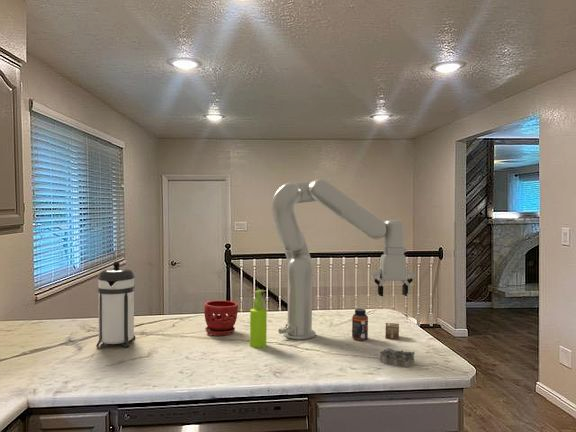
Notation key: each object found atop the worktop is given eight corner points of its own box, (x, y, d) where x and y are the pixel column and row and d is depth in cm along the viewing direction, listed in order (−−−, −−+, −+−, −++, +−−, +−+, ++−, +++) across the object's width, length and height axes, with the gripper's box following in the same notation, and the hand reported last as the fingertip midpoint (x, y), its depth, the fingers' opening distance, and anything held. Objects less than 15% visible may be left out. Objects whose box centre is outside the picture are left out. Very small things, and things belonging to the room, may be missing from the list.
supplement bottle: (367, 341, 173) (367, 311, 173) (351, 340, 175) (351, 310, 174) (367, 337, 179) (368, 308, 179) (352, 336, 180) (352, 307, 180)
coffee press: (148, 343, 169) (148, 261, 168) (106, 353, 157) (105, 265, 156) (125, 333, 181) (125, 257, 180) (84, 342, 169) (84, 260, 168)
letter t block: (398, 340, 176) (399, 326, 176) (385, 338, 177) (385, 325, 177) (398, 336, 181) (398, 323, 181) (385, 335, 182) (385, 322, 182)
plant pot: (228, 339, 175) (229, 307, 174) (198, 335, 179) (198, 304, 178) (243, 330, 187) (243, 300, 187) (214, 327, 191) (214, 298, 191)
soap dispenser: (270, 343, 170) (270, 289, 169) (261, 349, 163) (262, 292, 163) (256, 341, 172) (256, 288, 171) (247, 346, 166) (247, 291, 165)
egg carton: (378, 364, 150) (378, 351, 150) (384, 357, 157) (384, 345, 157) (411, 369, 146) (411, 356, 145) (415, 362, 152) (416, 349, 152)
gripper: (410, 250, 183) (410, 293, 184) (369, 250, 181) (368, 294, 181) (418, 252, 176) (418, 297, 176) (375, 252, 173) (374, 298, 174)
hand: (392, 295), depth 179 cm, fingers open, 9 cm apart
